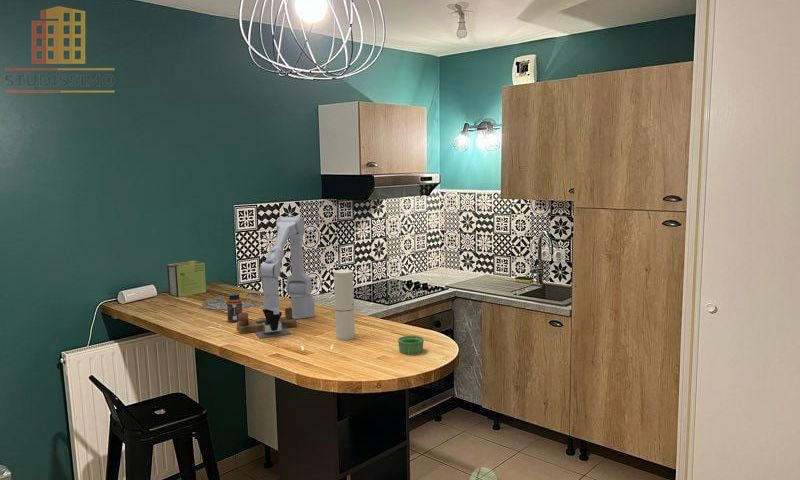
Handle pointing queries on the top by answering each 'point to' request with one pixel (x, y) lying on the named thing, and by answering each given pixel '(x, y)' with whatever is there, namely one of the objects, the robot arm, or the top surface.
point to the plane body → (256, 325)
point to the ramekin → (411, 344)
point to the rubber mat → (272, 333)
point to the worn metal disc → (218, 304)
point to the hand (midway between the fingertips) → (272, 328)
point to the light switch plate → (267, 327)
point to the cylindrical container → (344, 304)
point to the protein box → (186, 278)
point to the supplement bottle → (234, 307)
